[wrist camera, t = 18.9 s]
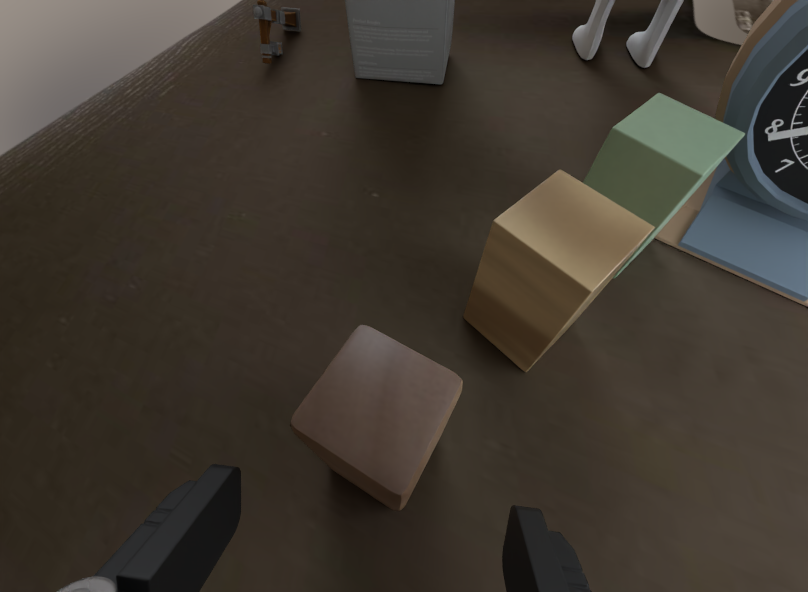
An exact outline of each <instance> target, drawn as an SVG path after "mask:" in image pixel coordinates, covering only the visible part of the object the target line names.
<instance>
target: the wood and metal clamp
mask: <svg viewBox="0 0 808 592" xmlns="http://www.w3.org/2000/svg"><path fill="white" fill-rule="evenodd" d="M257 3H258V5H253V12H254V19H259V26H260V35H261V44H260V47H261V53H262V57H263V63H272V60H271V58H272V57H271V55H278V56H279V54H283V52H282V43H280V42H271V41H270V40H269V34H270V28H271V23H275V24H282V25H283V29H284V30H295V31H301V22H300V9H295V8H284V7H282V8H281V11H280V10H274V9H270V7H267V4H266V2H265V1H264V0H259V1H257Z"/></svg>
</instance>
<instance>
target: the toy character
mask: <svg viewBox="0 0 808 592" xmlns="http://www.w3.org/2000/svg"><path fill="white" fill-rule="evenodd" d="M683 1H684V0H661V2H660V5H659V7H658V9H657V11H656V13H655V16H654V18H653V20H652V22H651V24H650V26H649V27H648V29H647V30H646V31H645V32H636V33H635V34H633V35H632V36H630V38H629V39H628V41H627V44H626V45H627V48H628V50H629V52H630V54H631V56H632V58H633V59H634V61H635V62H636V63H637V64H638V65H639V66H641V67H643V68H646V67H649V66H650V65H651V63H652V61H653V59H654V57H655V55H656V53H657V51H658V49H659V47H660V45H661V43H662V41H663V39H664V37H665V35H666V33H667V31H668V29H669V27H670V25H671V23H672V21H673V19H674V18H675V16H676V14H677V12H678V10H679V8H680V6H681V4H682V3H683ZM614 2H615V0H597V1H596V3H595V6H594V8H593V11H592V13H591V16H590V18H589V21H588V23H587V24H586V25H581V26H580V27H578V28H577V29H576V30H575V31H574V33H573V37H572V38H573V42H574V45H575V47H576V50H577V52H578V54H579V55H580V57H581V58H583V59H585V60H590V59H592V58H593V56H594V55H595V53H596V51H597V49H598V46H599V44H600V41H601V38H602V35H603V31H604V26H605V23H606V20H607V17H608V15H609V12H610V10H611V8H612V6H613V4H614Z"/></svg>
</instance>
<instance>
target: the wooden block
mask: <svg viewBox="0 0 808 592" xmlns="http://www.w3.org/2000/svg"><path fill="white" fill-rule="evenodd" d="M462 384H463V381H462V379H461V378H460V377H459V376H458V375H457V374H456V373H454V372H452V371H451V370H449V369H447V368H445V367H443V366H441V365H440V364H438V363H436V362H434V361H432V360H430V359H428V358H427V357H425V356H423V355H421V354H419V353H417V352H416V351H414V350H412V349H410V348H408V347H406V346H405V345H403V344H401V343H399V342H397V341H395V340H393V339H392V338H390V337H388V336H386V335H384V334H382V333H381V332H379V331H377V330H375V329H373V328H371V327H369V326H366V325H360V326H359V327H358V328H356V329H355V330H354V331H353V333H352V334H351V335H350V337H349V338H348V340H347V341H346V342H345V344H344V345H343V346H342V348H341V349H340V351H339V352H338V353H337V355H336V356H335V357H334V359H333V360H332V362H331V363H330V364H329V366H328V367H327V368H326V370H325V371H324V373H323V374H322V375H321V377H320V378H319V379H318V381H317V382H316V384H315V385H314V386H313V388H312V389H311V390H310V392H309V393H308V395H307V396H306V397H305V399H304V400H303V401H302V403H301V404H300V406H299V407H298V408H297V410H296V411H295V412H294V414H293V416H292V419H291V423H290V426H291V428H292V430H293V432H294V433H295V435H297V436H298V437H299V438H300V439H301V440H302V441H303V442H304V443H305V444H306V445H307V446H308V447H309V448H310V449H311V450H312V451H313V452H314V453H315V454H316V455H317V456H318V457H319V458H320V459H321V460H322V461H324V462H325V463H326V464H327V465H328V466H329V467H330V468H331V469H332V470H334V471H335V472H337V473H338V474H340V475H341V476H343V477H344V478H346V479H347V480H348V481H350V482H351V483H353V484H354V485H356V486H357V487H359V488H360V489H362V490H363V491H365V492H366V493H368V494H369V495H371V496H372V497H374V498H375V499H377V500H378V501H380V502H381V503H383V504H384V505H386V506H387V507H389V508H390V509H392V510H395V511H400V510H401V509H402V508H404V507H405V505H406V503H407V502H408V500H409V498H410V496H411V494H412V492H413V490H414V488H415V486H416V484H417V482H418V480H419V478H420V476H421V474H422V472H423V470H424V468H425V466H426V464H427V462H428V460H429V458H430V456H431V454H432V452H433V450H434V449H435V447H436V445H437V443H438V441H439V439H440V437H441V434H442V432H443V430H444V428H445V426H446V424H447V422H448V420H449V417H450V415H451V413H452V411H453V409H454V407H455V405H456V403H457V400H458V398H459V396H460V394H461V392H462Z"/></svg>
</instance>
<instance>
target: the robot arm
mask: <svg viewBox="0 0 808 592" xmlns="http://www.w3.org/2000/svg"><path fill="white" fill-rule="evenodd" d="M240 514H241V471H240V468H238V467H233V466H225V465H218V464H213V465H211V466H210V467H209V468H208V469H207V470H206V471H205V472H204V474H203V475H202V476H201V477H200V478H199V479H198V481H190V480H189V481H188V482H186V483H184V484H183V485H181V486H180V487H178V488H177V489H175V490H173V491H172V492H170V493H169V495H168V496H167V497H166V498H165V499H164V500H163V501H162V502H161V503H160V504H159V505H158V507H157V508H156V510H155V511H153V512H152V513H151V514H150V515H149V516H148V517H147V518H146V520H145V522H144V524H141V525H140V526H139V527H138V528H137V529H136V530H135V532H134V533H133V534H132V535H131V536H130V537H129V538H128V539H127V540H126V541H125V542H124V544H123V545H122V546H121V547H120V548H119V549H118V550H117V551H116V552H115V553H114V554H113V555H112V557H111V558H110V559H109V560H108V561H107V562H106V563H105V564H104V565H103V566H102V567H101V569H100V570H99V571H98V572H97V573H96V574H95V575H94V576H93V577H88V578H84V579H81V580H78V581H75V582H73V583H71V584H69V585H67V586H65V587H63V588H62V589H60V590H58V591H57V592H199V591H200V589H201V588H202V586H203V584H204V583H205V581H206V579H207V578H208V576H209V574H210V573H211V571H212V570H213V568H214V566H215V565H216V563H217V561H218V560H219V558H220V556H221V555H222V553H223V551H224V550H225V548H226V546H227V545H228V543H229V542H230V540H231V538H232V537H233V535H234V533H235V531H236V528H237V526H238V523H239V519H240ZM502 563H503V574H504V580H505V585H506V590H507V592H591V590H589V584H588V582H587V580H586V577H585V575H584V573H582V568H581V565H580V563H579V560H578V558H577V555H576V553H575V551H574V549H573V548H572V547H571V545H570V544H569V543H568V542H567V541H566V539H565V538H564V537H563V536H562V534H561V533H560V532H553V531H548V529H547V526H546V523H545V520H544V517H543V515H542V512H541V510H540V509H537V508H529V507H522V506H515V505H513V506H512V507H511V510H510V515H509V520H508V525H507V530H506V536H505V541H504V546H503V556H502Z"/></svg>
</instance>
